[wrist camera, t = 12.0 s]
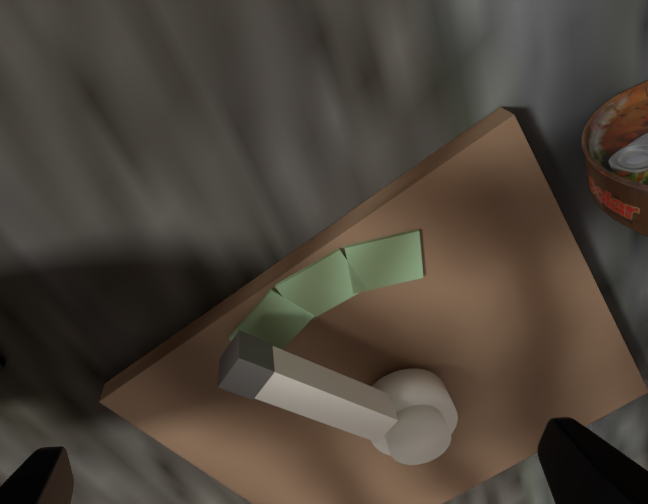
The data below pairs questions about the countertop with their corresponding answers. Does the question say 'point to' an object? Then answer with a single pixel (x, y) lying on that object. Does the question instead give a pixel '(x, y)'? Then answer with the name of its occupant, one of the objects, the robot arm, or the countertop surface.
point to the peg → (346, 398)
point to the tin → (620, 157)
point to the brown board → (402, 335)
